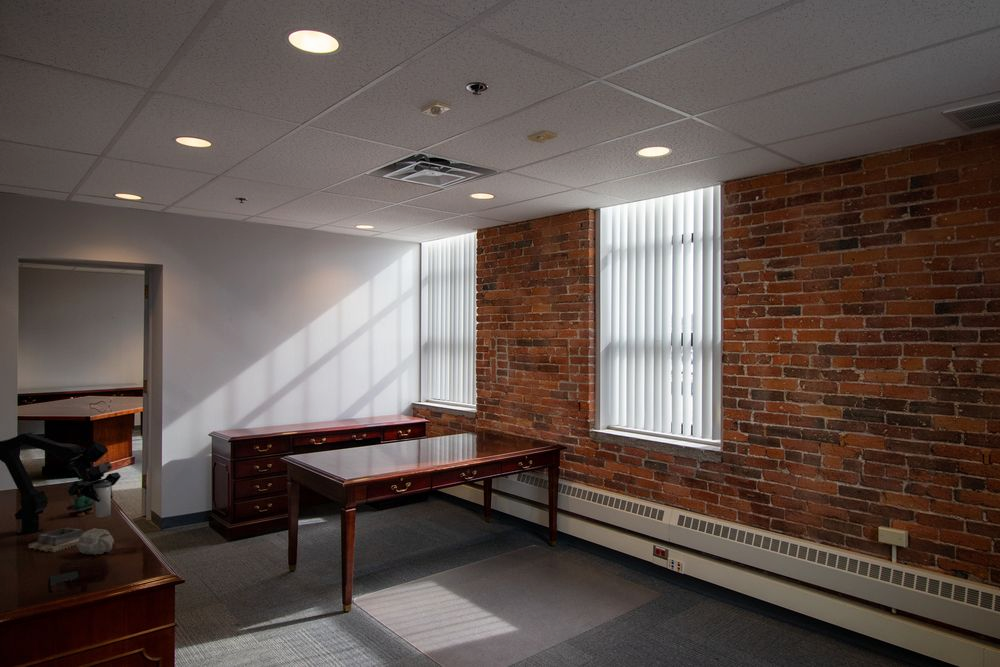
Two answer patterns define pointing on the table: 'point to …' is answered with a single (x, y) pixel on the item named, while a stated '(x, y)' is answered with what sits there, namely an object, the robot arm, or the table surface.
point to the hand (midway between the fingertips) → (105, 499)
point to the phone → (63, 577)
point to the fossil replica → (95, 541)
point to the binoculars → (81, 505)
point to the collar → (57, 539)
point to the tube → (103, 499)
